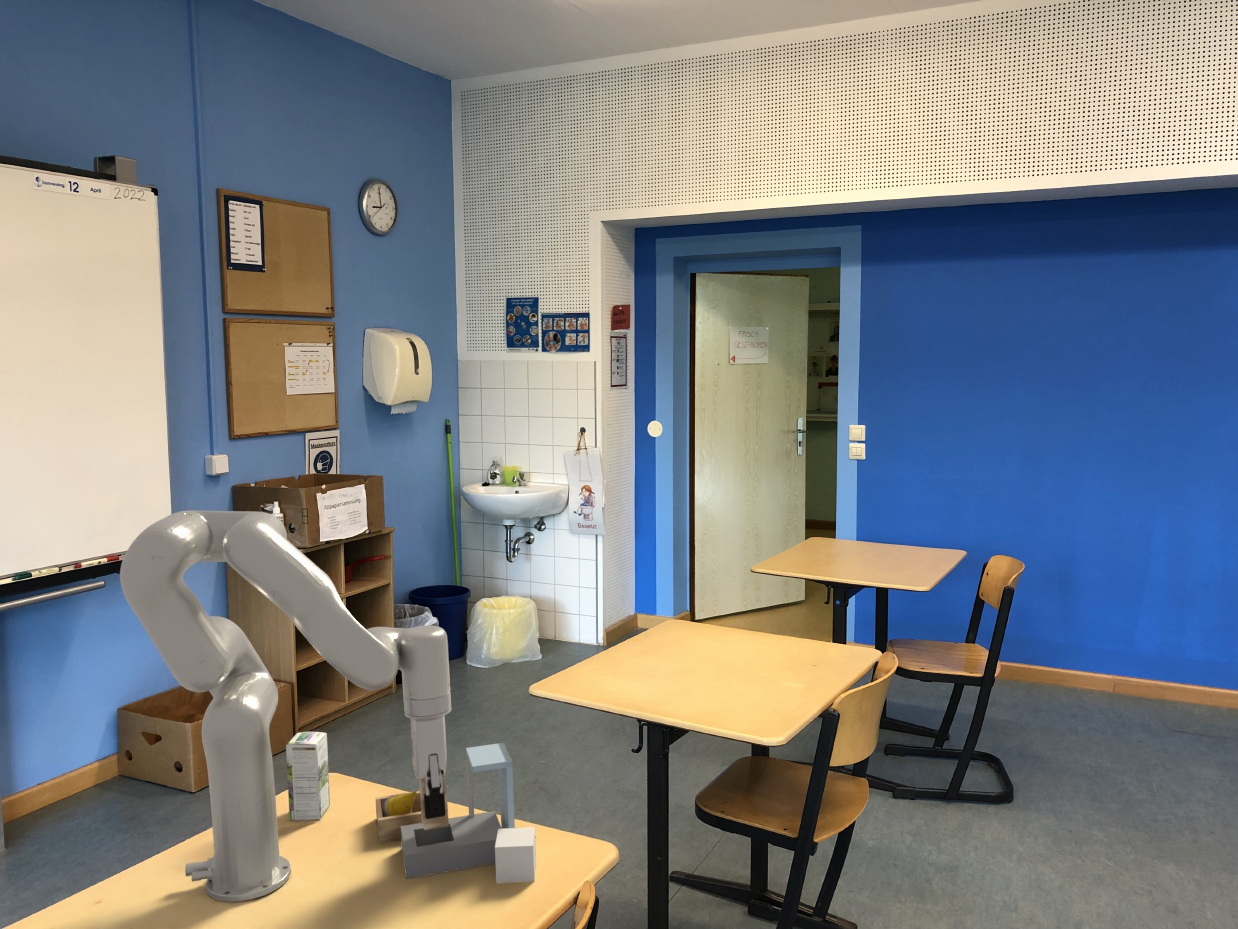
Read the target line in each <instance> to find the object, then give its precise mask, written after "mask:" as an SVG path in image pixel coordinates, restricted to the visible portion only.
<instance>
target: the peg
mask: <svg viewBox="0 0 1238 929" xmlns="http://www.w3.org/2000/svg"><path fill="white" fill-rule="evenodd" d="M438 772H439V771H438ZM427 775H430V772H429V773H427ZM418 781H419V780H418ZM428 782H429V783H431V780H428ZM442 782H443V791H444V797H445V816H442V817H436V818H430V819H426V817H425V804H424V794H426V792H425V779H421V780H420V781H419V782H418V783H419V784H418V785H419V791H420V801H421V817H422V823H423V828H424V830H429V829H435V828H440V827H446V826H449V821H448V818H449V809H448V808H449V806H448V805H449V804H448V790H447V787H448V786H447V774H446V775H445V776H444V777H443V775H442Z"/></svg>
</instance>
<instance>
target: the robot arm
mask: <svg viewBox="0 0 1238 929" xmlns="http://www.w3.org/2000/svg"><path fill="white" fill-rule="evenodd" d="M196 563H227V564H228V565H229V566H230V567H231V568H232V569H233V570H234V571H236V573H237V574H239V576H241V577H242V578H243V579H244V580H246V581H247V582H248V583H249V584H250V585H251V586H253V587H254V588H255V589H257V591H259V592H260V593H261V594H262V595H263V596H264V597H266V598H267V599H268V600H269V601H270V602H272V604H273V605H275V606H276V607H277V608H278V609H280V611H282V612H283V613H284V614H285V615H286V616H288V619H290V620H291V621H292V622H293V624H294V626H295V627H296V629H297V630H298V631H299V632H300V633H301V634H302V635H303V637H304V638H305V639H306V640H307V642H308V643H309V644H310V645H311V646H312V647H313V649H315V651H316V652H317V654H319V655H320V657H322V658H323V659H324V660H325V661H326V663H328V664H329V665H330V666H332V667H333V668H334V669H335V670H336V671H337V672H339V674H341V675H342V676H343V677H344V678H346V680H348V681H349V682H351V683H352V684H354V685H355V686H357V687H359V688H361V689H364V690H367V691H377V690H380V689H384V688H385V687H387V686H388V685H391V683H392V682H393V681H394V680H395V678H396V676H397V674H398V671H399V670H400V672H401V677H402V678H401V679H402V681H401V682H402V693H403V709H404V711H403V712H404V714H403V715H404V716H405V717H406V718H408V719H409V720H410V737H411V738H410V740H411V762H412V768H413V772H414V776H415V779H417V781H420V780H421V779H425V792H426V794H424V804H425V817H426V819H430V818H436V817H442V816H445V797H444V791H443V782H442V775H443V777H444V776H445V775H446V776H447V774H448V773H447V768H448V767H447V760H448V758H447V734H446V732H447V730H446V718H445V716H447V715H448V714H450V712H452V696H451V680H450V664H449V642H448V635H447V631H445V629H444V628H442V627H440V626H438V625H419V626H418V625H417V626H414V627H411V628H410V627H409V628H408V627H406V628H405V627H404V628H403V627H391V626H375V627H369V628H367V629H366V628H365V627H364V626H363V625H362V624H361V623H360V622H359V621H357V620H356V618H355V617H354V616H353V615H352V614H351V612H350V611H349V609H347V607H346V606H345V604H344V603H343V601H342V599H341V597H340V595H339V593H338V590H337V588H336V586H335V584H334V582H333V580H332V579H331V577H330V576H329V575H328V574H327V573H326V572H325V571H324V570H322V569H321V568H320V567H319V566H318V565H316V563H314V562H313V561H312V560H311V559H310V558H308V557H307V555H305V554H304V553H303V552H302V551H300V550H299V549H298V548H297V547H296V546H295V545H294V544H293V543H292V542H290V540H289V539H288V533H287V529H286V527H285V525H284V523H283V522H282V521H281V520H280V519H279V518H278V517H276V516H275V515H273V514H271V513H268V512H263V511H249V510H246V511H243V510H242V511H240V510H238V511H236V510H231V511H230V510H229V511H228V510H194V509H193V510H181V511H180V510H179V511H177V512H174V513H171V514H169V515H166V516H165V517H163V518H162V519H160V520H157V521H155V522H154V523H151V525H149V526H147V527H146V528H145V529H144V530H143V531H142V532H140V534H138V535H137V537H136V538H134V540H133V541H132V542H131V544H130V545H129V547H128V549H127V550H126V552H125V554H124V556H123V559H122V561H121V565H120V570H119V581H120V586H121V590H122V594H123V596H124V598H125V600H126V601H127V602H126V603H127V604H128V605H129V607H130V608H131V610H132V611H133V613H134V615H135V616H136V618H137V619H138V620H139V622H140V624H141V625H142V628H144V630H145V631H146V634H147V635H148V637H149V639H150V640H151V642H152V644H153V646H154V647H155V649H156V650H157V652H158V653H159V655H160V657H161V658H162V660H163V661H164V663H165V665H166V667H167V668H168V669H169V671H170V673H171V675H172V676H173V678H174V679H175V680H176V682H177V683H178V684H179V685H180V686H181V687H183V688H184V689H186V690H188V691H190V692H193V693H205V692H209V693H210V695H211V696H212V699H211V701H210V703H209V705H208V706H207V708H206V710H205V713H204V714H203V719H202V722H201V741H202V747H203V751H204V756H205V760H206V767H207V777H208V789H209V790H208V791H209V795H210V797H209V798H210V809H211V810H210V811H211V825H212V837H213V838H212V839H213V849H214V850H213V852H214V853H213V857H208V858H207V859H206V860H205V861H204V860H203V861H195V862H194V861H193V862H189V863H185V866H184V875H185V878H186V877H191V882H192V883H193V882H199V881H201V880H205V891H206V893H207V894H208V895H209V897H211V898H212V899H214V900H217V901H219V902H220V901H221V902H226V903H227V902H228V903H229V902H230V903H231V902H233V903H235V902H245V901H249V900H254V899H257V898H261V897H263V896H266V895H269V894H271V893H273V892H274V891H276V890H278V889H279V888H280V887H282V886H283V885H284V884H285V883H286V882H288V880H289V878H290V876H291V872H292V870H291V868H292V867H291V864H290V860H288V859H287V858H285V857H283V856H281V855H280V845H279V829H278V814H277V800H276V786H275V785H276V784H275V775H274V774H275V773H274V771H275V770H274V762H273V753H272V749H271V740H270V725H271V722H272V721H273V720H272V719H273V717H274V715H275V713H276V710H277V708H278V707H277V706H278V702H279V692H278V688H277V685H276V683H275V681H274V678H273V677H272V675H271V674H270V672H269V670H268V669H267V668H266V666H265V664H264V663H263V661H262V659H261V658H260V656H259V654H258V653H257V651H256V650H255V648H254V646H253V644H252V643H251V641H250V640H249V638H248V636H247V635H246V634H245V632H244V631H243V630H242V629H241V628H240V627H239V625H238V624H236V623H235V622H233V621H232V620H230V619H228V618H226V617H223V616H217V615H212V616H209V614H208V613H207V611H206V610H205V608H204V606H203V604H202V603H201V601H200V599H199V598H198V596H197V595H196V594H195V593H194V592H193V591H192V590H191V588H190V587H189V586H188V585H187V584H186V582H185V580H184V575H185V572H186V571H187V570H189V569H190V568H191V567H193V565H195V564H196ZM438 771H439V772H438ZM429 772H430V775H427V773H429ZM428 780H431V783H429V782H428Z"/></svg>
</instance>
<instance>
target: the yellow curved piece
mask: <svg viewBox="0 0 1238 929" xmlns="http://www.w3.org/2000/svg"><path fill="white" fill-rule="evenodd" d="M410 792H411V793H409V792H406V793H407V794H404V795H400V796H399V795H396V794H391V795H392V796H390V795H389V796H390V797H389V798H388V799H387V800H386V801H385V802H384V804H383V807H382V811H383V815H384V817H390V816H396V815H402V814H408V813H412V806H413V802H414V799H415V796H416V793H417V790H415V791H410Z"/></svg>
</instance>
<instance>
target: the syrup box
mask: <svg viewBox="0 0 1238 929" xmlns="http://www.w3.org/2000/svg"><path fill="white" fill-rule="evenodd" d="M327 735H328V734H327V732H322V731H321V732H319V731H303V732H297V733H296V734H295V735H294V736H292V738H291V739H290V741H288V742H287V744H286V745H285V750H286V771H287V773H286V774H287V775H286V776H287V793H288V812H289V813H288V814H289V821H315V820H318V821H320V820H321V819H322V818H323V816H324V815H325V813H326V812H327V810H328V809H329V807H330V805H331V798H330V797H331V796H330V780H329V778H330V777H329V757H328V756H329V754H328V736H327Z"/></svg>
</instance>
